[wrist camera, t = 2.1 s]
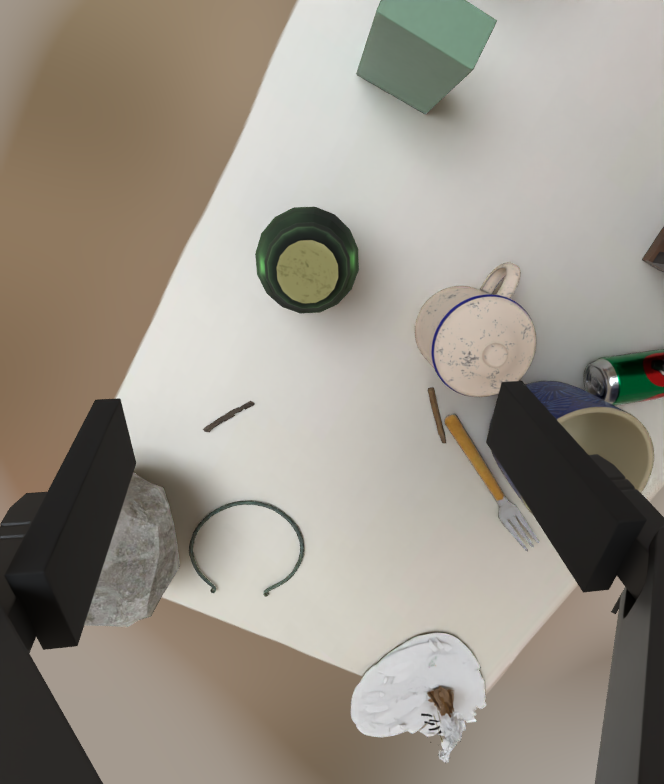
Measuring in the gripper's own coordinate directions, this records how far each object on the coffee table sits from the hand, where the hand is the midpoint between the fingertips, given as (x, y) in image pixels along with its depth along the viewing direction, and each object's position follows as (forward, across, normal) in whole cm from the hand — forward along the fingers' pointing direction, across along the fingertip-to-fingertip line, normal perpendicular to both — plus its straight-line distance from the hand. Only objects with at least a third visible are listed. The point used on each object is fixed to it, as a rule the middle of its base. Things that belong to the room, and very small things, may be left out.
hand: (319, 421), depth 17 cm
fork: (+26, +17, -20) cm, 37 cm away
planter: (+26, +27, -21) cm, 43 cm away
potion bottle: (+33, +2, -4) cm, 33 cm away
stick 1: (+28, -6, -20) cm, 35 cm away
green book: (+35, +11, +11) cm, 38 cm away
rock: (+16, -19, -35) cm, 43 cm away
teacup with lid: (+30, +18, -9) cm, 36 cm away
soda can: (+24, +44, -13) cm, 52 cm away
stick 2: (+26, +17, -19) cm, 37 cm away
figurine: (+19, +17, -59) cm, 64 cm away
